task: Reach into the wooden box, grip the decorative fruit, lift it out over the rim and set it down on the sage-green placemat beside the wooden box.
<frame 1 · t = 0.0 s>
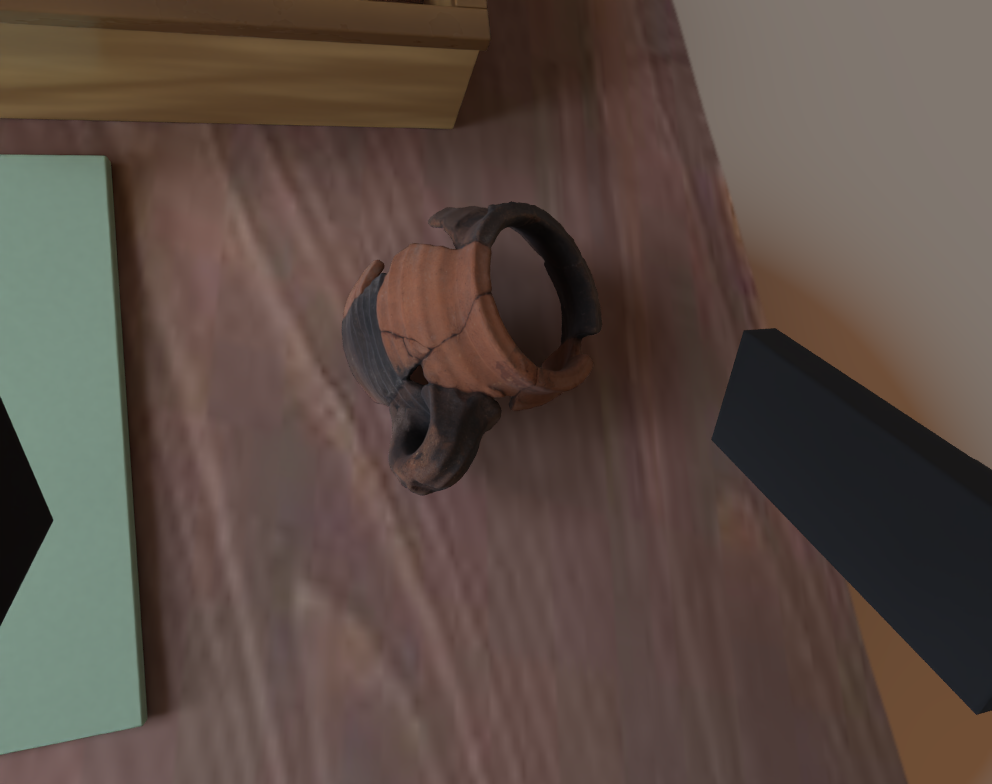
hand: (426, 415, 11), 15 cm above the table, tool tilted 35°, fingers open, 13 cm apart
pottery mug: (448, 358, 27), on the table
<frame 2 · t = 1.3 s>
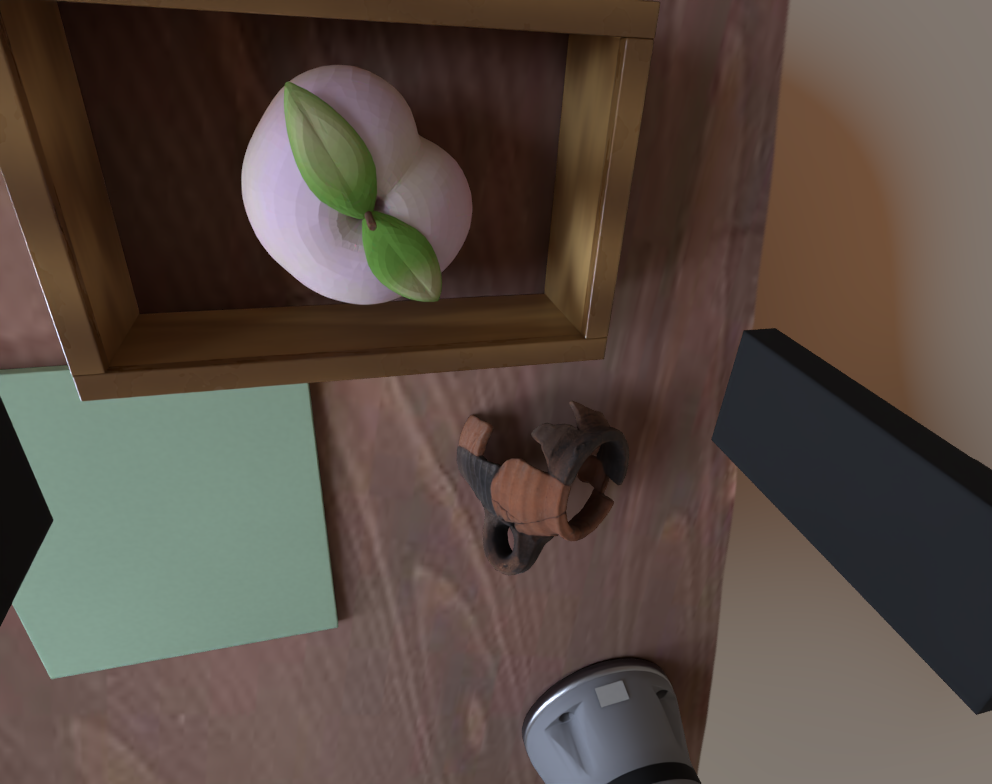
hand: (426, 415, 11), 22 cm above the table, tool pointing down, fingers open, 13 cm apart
wooden box: (349, 175, 29), on the table
placemat: (167, 524, 36), on the table
decorative fruit: (349, 174, 29), resting in wooden box
pottery mug: (520, 453, 41), on the table
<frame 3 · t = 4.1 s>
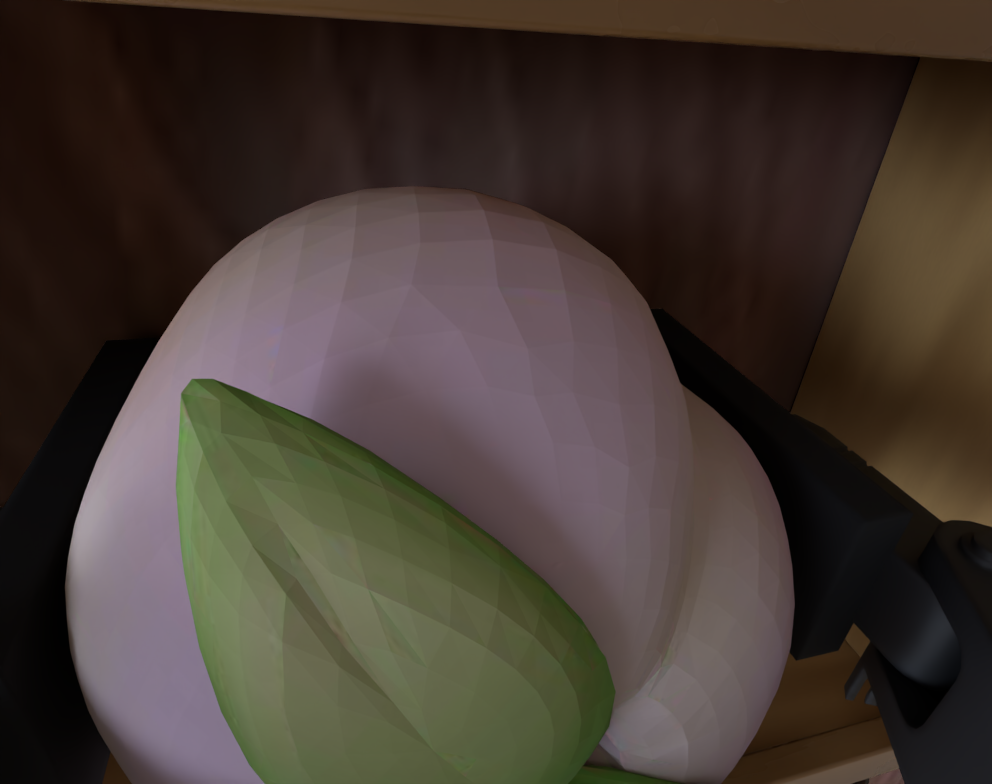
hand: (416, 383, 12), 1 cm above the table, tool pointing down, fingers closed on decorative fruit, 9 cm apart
wooden box: (402, 374, 13), on the table
decorative fruit: (398, 368, 13), resting in wooden box, touching gripper
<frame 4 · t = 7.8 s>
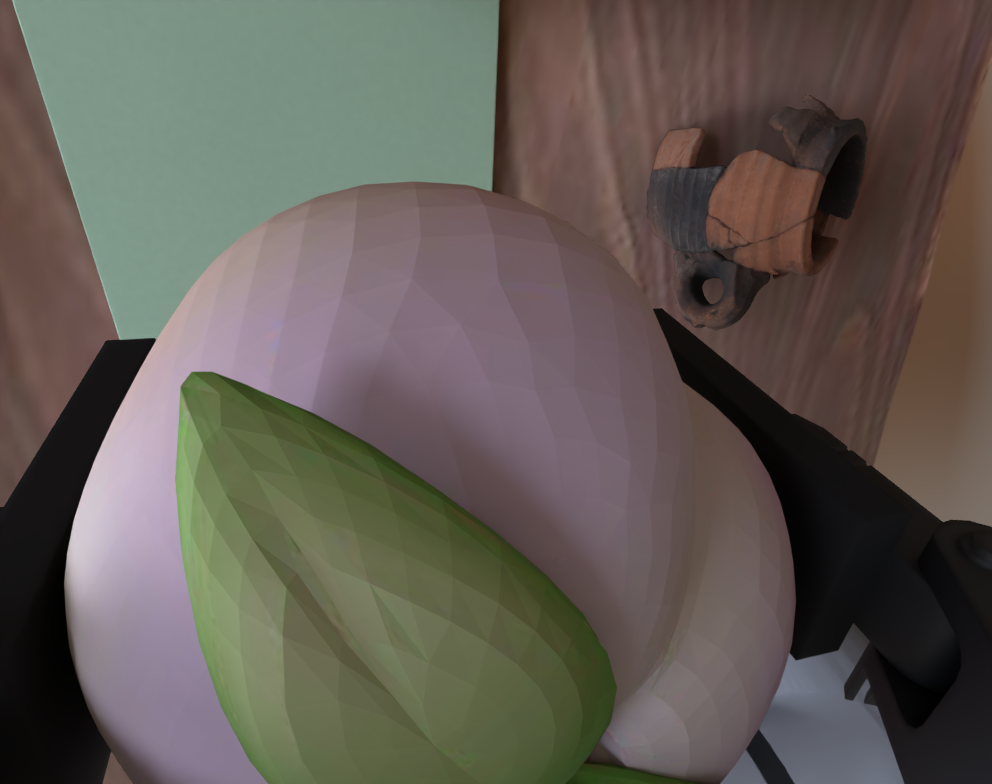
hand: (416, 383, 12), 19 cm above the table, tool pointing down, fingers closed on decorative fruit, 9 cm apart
placemat: (308, 254, 29), on the table
decorative fruit: (398, 366, 13), point 18 cm above the table, touching gripper
pottery mug: (711, 200, 34), on the table
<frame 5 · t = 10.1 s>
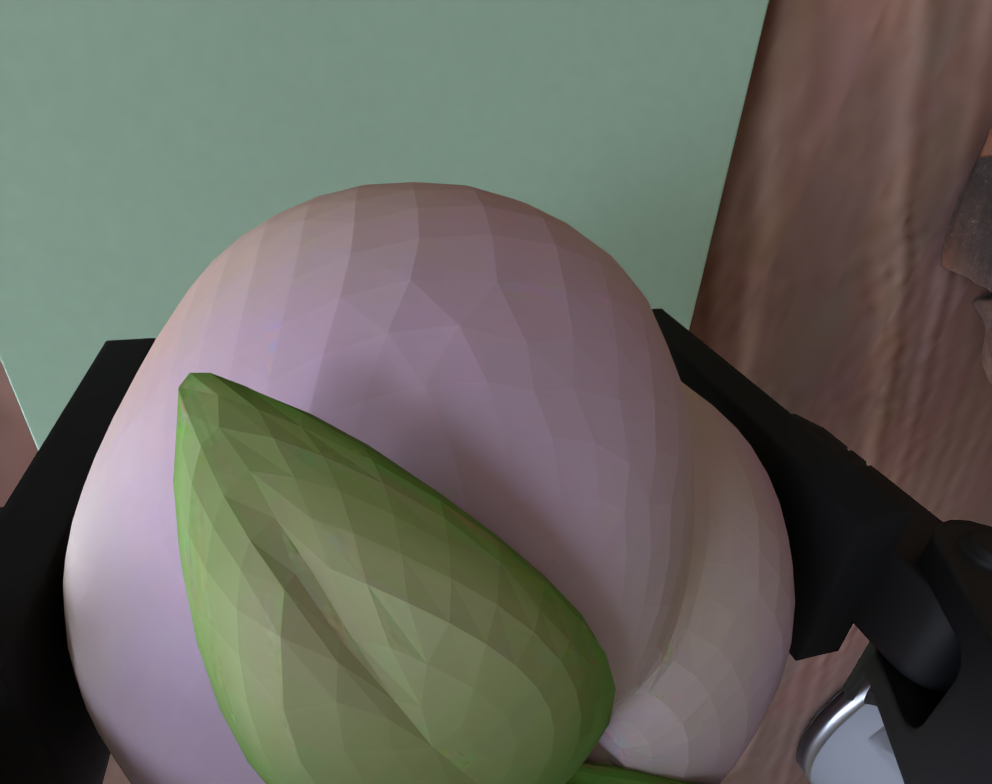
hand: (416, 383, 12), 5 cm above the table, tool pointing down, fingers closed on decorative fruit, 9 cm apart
placemat: (391, 298, 16), on the table
decorative fruit: (397, 366, 13), point 4 cm above the table, touching gripper
when the fingers open (1 cm above the table, at t = 11.6 s): decorative fruit stays where it is, resting on placemat.
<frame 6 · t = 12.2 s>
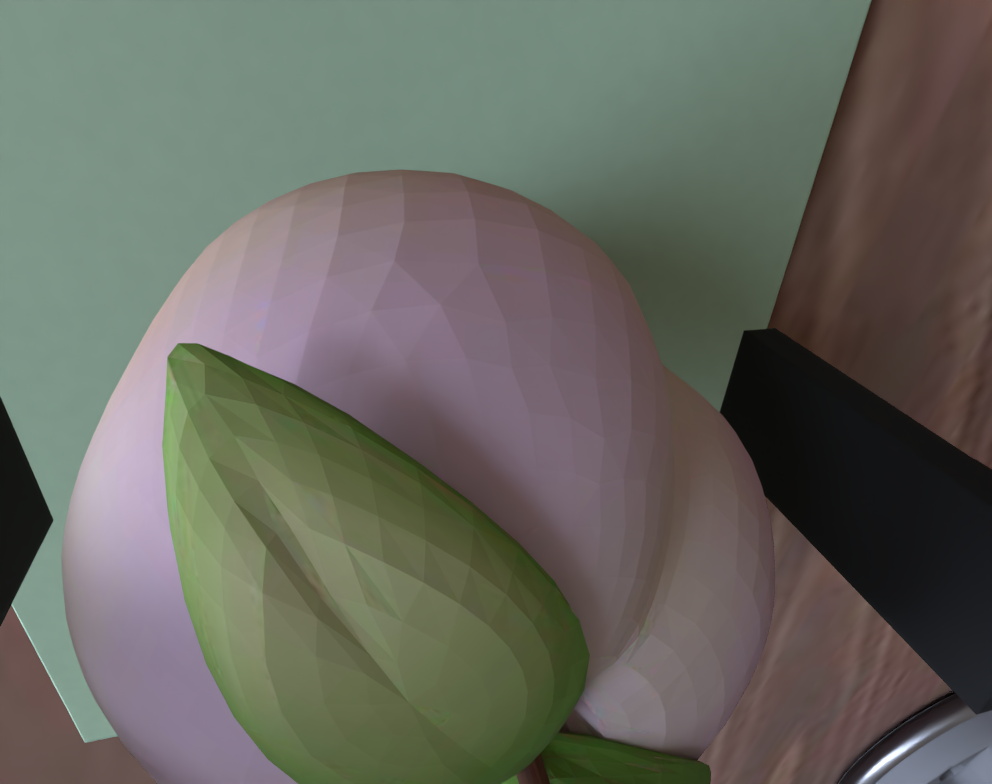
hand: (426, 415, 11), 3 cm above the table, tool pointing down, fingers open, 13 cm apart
placemat: (405, 349, 13), on the table
decorative fruit: (394, 357, 13), resting on placemat
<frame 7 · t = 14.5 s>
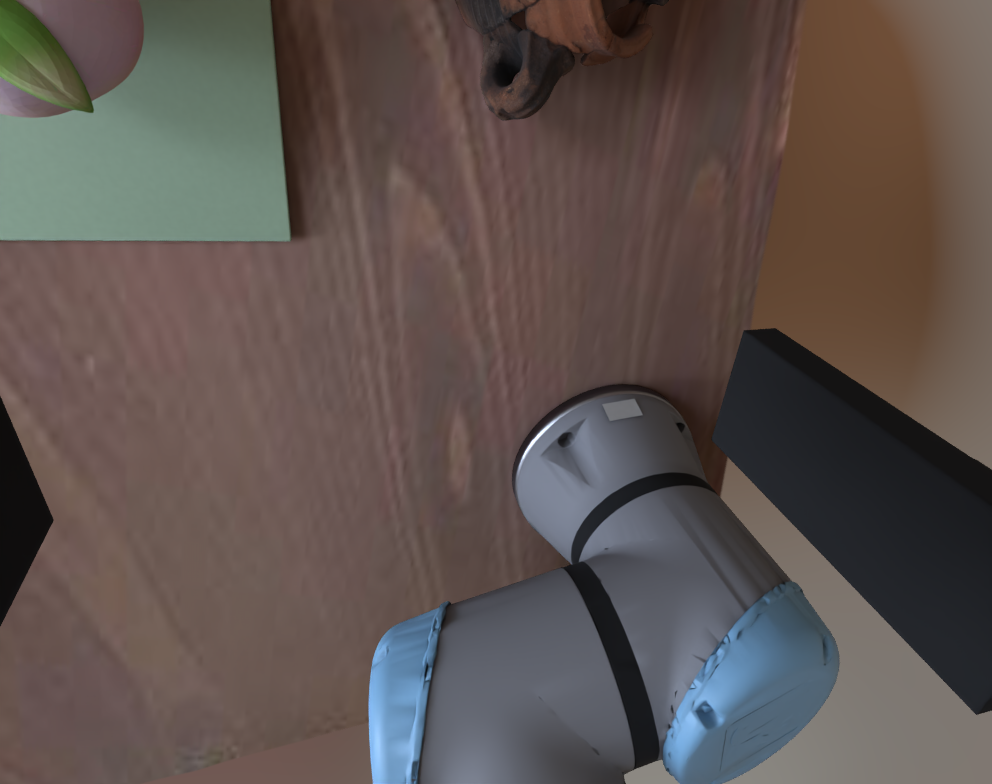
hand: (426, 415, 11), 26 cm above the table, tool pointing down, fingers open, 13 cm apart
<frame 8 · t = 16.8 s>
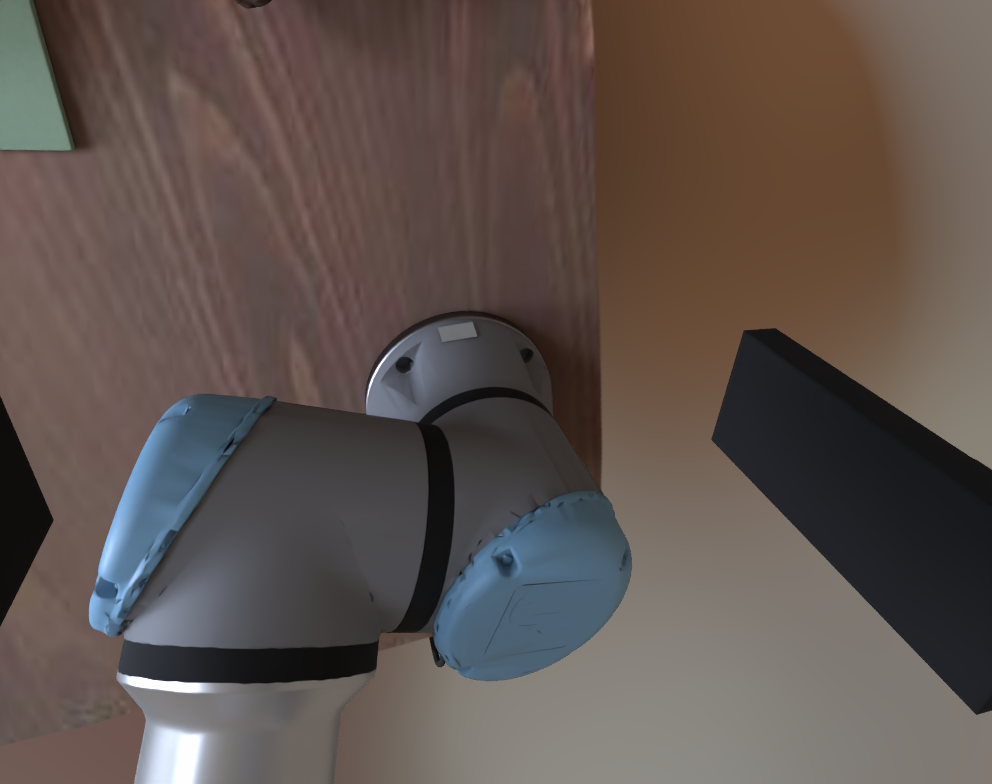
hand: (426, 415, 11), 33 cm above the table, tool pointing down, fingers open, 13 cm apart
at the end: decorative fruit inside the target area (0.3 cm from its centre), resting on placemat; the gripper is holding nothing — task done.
